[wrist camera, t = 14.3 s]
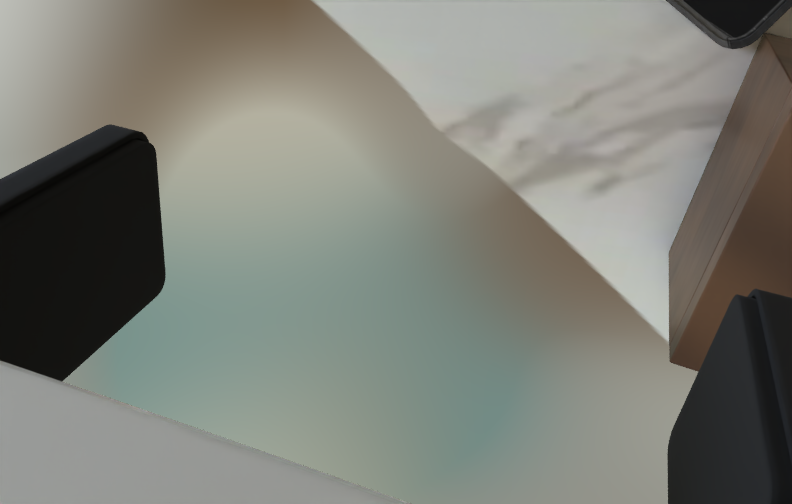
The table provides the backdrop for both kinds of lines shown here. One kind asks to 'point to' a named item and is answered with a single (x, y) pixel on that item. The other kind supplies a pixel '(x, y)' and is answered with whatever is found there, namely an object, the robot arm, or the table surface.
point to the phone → (732, 18)
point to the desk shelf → (737, 210)
